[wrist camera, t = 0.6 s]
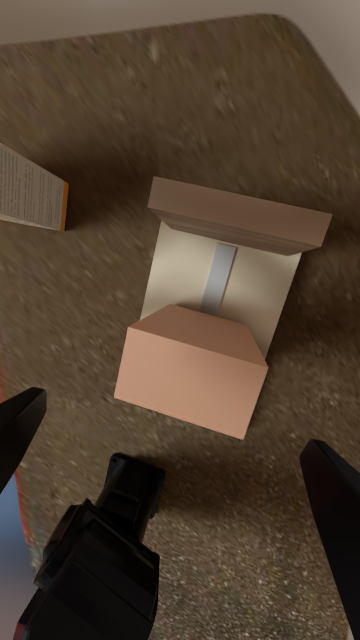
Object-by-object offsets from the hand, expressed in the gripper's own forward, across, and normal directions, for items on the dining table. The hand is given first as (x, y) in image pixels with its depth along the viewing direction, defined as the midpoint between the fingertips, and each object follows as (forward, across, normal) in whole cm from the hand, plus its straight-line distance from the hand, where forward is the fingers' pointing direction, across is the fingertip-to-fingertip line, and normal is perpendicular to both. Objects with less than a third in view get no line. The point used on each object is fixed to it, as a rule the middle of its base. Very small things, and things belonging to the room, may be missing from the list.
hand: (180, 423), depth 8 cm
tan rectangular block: (+13, -3, +3) cm, 14 cm away
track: (+15, -3, +3) cm, 16 cm away
